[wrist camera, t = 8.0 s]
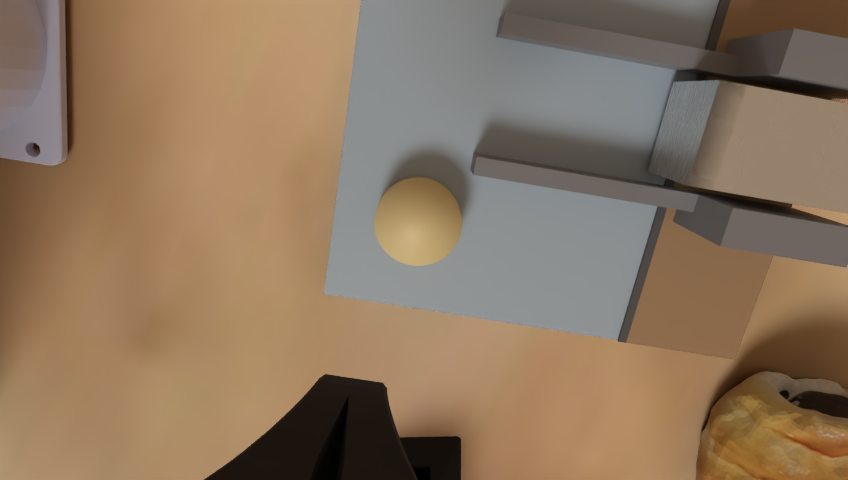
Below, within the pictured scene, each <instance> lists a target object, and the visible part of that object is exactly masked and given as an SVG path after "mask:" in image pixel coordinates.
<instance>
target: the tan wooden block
mask: <svg viewBox="0 0 848 480" xmlns="http://www.w3.org/2000/svg"><path fill="white" fill-rule="evenodd" d="M648 172H650V173H653V174H656V175H659V176H661V177H664V178H667V179H670V180H673V181H675V182H678V183H681V184H684V185H686V186H692V187H698V188H703V189H709V190H715V191H721V192H727V193H732V194H738V195H744V196H750V197H756V198H761V199H767V200H773V201H779V202H784V203H790V204H796V205H802V206H808V207H813V208H819V209H825V210H831V211H837V212H842V213H848V103H842V102H837V101H831V100H826V99H820V98H815V97H809V96H804V95H798V94H793V93H788V92H782V91H777V90H771V89H766V88H760V87H755V86H749V85H744V84H738V83H733V82H727V81H722V80H709V81H682V82H673V85H672V88H671V92H670V95H669V99H668V102H667V105H666V109H665V112H664V116H663V119H662V123H661V126H660V130H659V133H658V137H657V140H656V144H655V147H654V150H653V154H652V157H651V161H650V164H649V168H648Z"/></svg>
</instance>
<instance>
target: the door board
mask: <svg viewBox="0 0 848 480" xmlns="http://www.w3.org/2000/svg"><path fill="white" fill-rule="evenodd" d="M709 80H722V81H727V82H733V83H738V84H744V85H749V86H755V87H760V88H766V89H771V90H777V91H782V92H788V93H793V94H798V95H804V96H809V97H815V98H820V99H826V100H831V99H832V98H838V99H848V0H361V5H360V13H359V21H358V29H357V37H356V45H355V53H354V61H353V69H352V76H351V84H350V92H349V100H348V108H347V116H346V124H345V132H344V140H343V148H342V156H341V164H340V172H339V180H338V187H337V195H336V203H335V211H334V219H333V227H332V235H331V243H330V251H329V259H328V267H327V275H326V283H325V291H324V294H328V295H334V296H341V297H347V298H353V299H360V300H366V301H372V302H379V303H385V304H392V305H398V306H404V307H411V308H417V309H423V310H430V311H436V312H442V313H449V314H455V315H461V316H468V317H474V318H480V319H487V320H493V321H499V322H506V323H512V324H519V325H525V326H531V327H538V328H544V329H550V330H557V331H563V332H569V333H576V334H582V335H588V336H595V337H601V338H607V339H614V340H618V341H619V342H625V343H633V344H639V345H645V346H652V347H658V348H664V349H671V350H677V351H683V352H690V353H696V354H702V355H709V356H715V357H721V358H728V359H734V360H735V357H736V355H737V352H738V349H739V346H740V344H741V341H742V338H743V336H744V333H745V330H746V328H747V325H748V322H749V320H750V317H751V314H752V312H753V309H754V306H755V303H756V301H757V298H758V295H759V293H760V290H761V287H762V285H763V282H764V279H765V277H766V274H767V271H768V269H769V266H770V263H771V261H772V258H773V255H775V256H780V257H786V258H792V259H798V260H804V261H810V262H816V263H822V264H828V265H834V266H840V267H847V264H848V225H845V224H841V223H838V222H835V221H832V220H829V219H826V218H822V217H819V216H816V215H813V214H810V213H807V212H804V211H800V210H797V209H794V208H791V207H792V204H790V203H784V202H779V201H773V200H767V199H761V198H756V197H750V196H744V195H738V194H732V193H727V192H721V191H715V190H709V189H703V188H698V187H692V186H686V185H684V184H681V183H678V182H675V181H673V180H670V179H667V178H664V177H661V176H659V175H656V174H653V173H650V172H648V168H649V164H650V161H651V157H652V154H653V150H654V147H655V144H656V140H657V137H658V133H659V130H660V126H661V123H662V119H663V116H664V112H665V109H666V105H667V102H668V99H669V95H670V92H671V88H672V85H673V82H682V81H709Z"/></svg>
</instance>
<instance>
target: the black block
mask: <svg viewBox="0 0 848 480" xmlns="http://www.w3.org/2000/svg"><path fill="white" fill-rule="evenodd" d="M400 440H401V443H402V445H403V448H404V450H405V453H406V455H407V457H408V460H409V462H410V464H411V466H412V468H413V470H414V472H415V475H416V477H417V479H418V480H461V439H460V438H459V437H457V436H453V437H405V438H400Z"/></svg>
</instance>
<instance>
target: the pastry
mask: <svg viewBox="0 0 848 480" xmlns="http://www.w3.org/2000/svg"><path fill="white" fill-rule="evenodd" d="M696 470H697V477H696V480H848V388H842V387H841V385H840V384H839V383H837V382H834V381H830V380H826V379H821V378H818V379H809V378H804V379H792V378H790V377H789V376H788V375H786V374H783V373H778V372H768V371H763V372H759V373H756V374H754V375H752V376H750V377H749V378H747V379H746V380H744V381H743V382H742V383H740V384H739V385H737V386H735V387H733V388H731V389H730V390H729V391H727V392H726V393H725V394H724V395H723V396H722V397H721V398H720V399H719V400H718V401H717V402H716V403H715V405H714V406H713V407H712V408H711V413H710V417H709V420H708V423H707V425H706V427H705V429H704V431H702V432H701V440H700V446H699V450H698V461H697V466H696Z"/></svg>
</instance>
